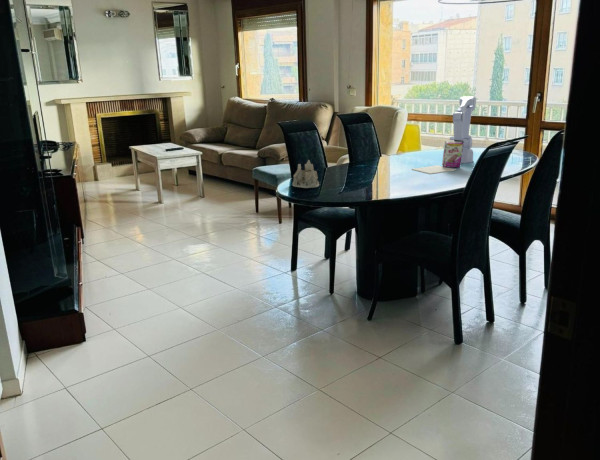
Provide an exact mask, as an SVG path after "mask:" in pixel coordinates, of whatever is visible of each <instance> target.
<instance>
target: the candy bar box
mask: <svg viewBox="0 0 600 460" xmlns="http://www.w3.org/2000/svg"><path fill="white" fill-rule="evenodd" d="M462 150H463V142H461V141H454V140H445V141H444V147H443V153H442V154H443V155H442V156H443V157H442V162H441V166H443V167H447V168H460V167H461V164H462V163H461V157H462Z"/></svg>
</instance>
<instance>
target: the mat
mask: <svg viewBox="0 0 600 460" xmlns="http://www.w3.org/2000/svg"><path fill="white" fill-rule="evenodd" d="M411 170H412V171H416V172H419V173H424V174H428V175H433V174H434V175H435V174H441V173H448V172H453V171H457V169H456V168H453V167H443V165H437V164H436V165H430V166H423V167H416V168H415V167H414V168H411Z"/></svg>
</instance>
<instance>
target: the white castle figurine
mask: <svg viewBox="0 0 600 460" xmlns="http://www.w3.org/2000/svg"><path fill="white" fill-rule="evenodd" d="M301 165H302V164H301V163H298V164H297V170H296V171H295V173H294V174H293V180H292V184H291V185H292V186H293V187H294V188H303V189H309V188H310V189H311V188H312V189H313V188H318V187H319V186H320V182H319V180H318V179H319V177H318V172H317V170H315V169H314V164H313V163H311V161H310V159H308V160H307V162H306V163H304V169H302V166H301Z"/></svg>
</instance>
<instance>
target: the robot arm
mask: <svg viewBox="0 0 600 460" xmlns="http://www.w3.org/2000/svg"><path fill="white" fill-rule="evenodd" d="M476 104H477V98H476V96H475V95H474V96H460V97H459V106H458V107H457V110H456V111H454V112H453V115H452V123H453V136H450V137H449V141H461V142H463V150H462V157H461V164H468V163H473V162H474V150H473V149H472V147H473V137H472V136H471V135H469V134H470V129H471V128H470V126H471V119H472V115H473V114H472V113H473V111H475V109H476V106H477V105H476Z"/></svg>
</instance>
